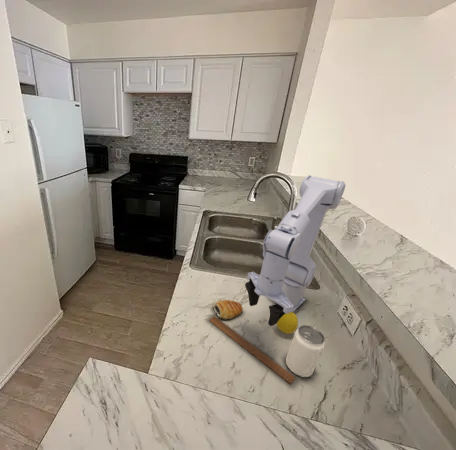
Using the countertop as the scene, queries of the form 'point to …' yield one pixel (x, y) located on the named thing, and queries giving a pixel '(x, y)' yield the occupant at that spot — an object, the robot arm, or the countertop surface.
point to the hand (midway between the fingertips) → (262, 314)
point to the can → (305, 350)
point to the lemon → (288, 323)
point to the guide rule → (253, 351)
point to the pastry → (227, 309)
